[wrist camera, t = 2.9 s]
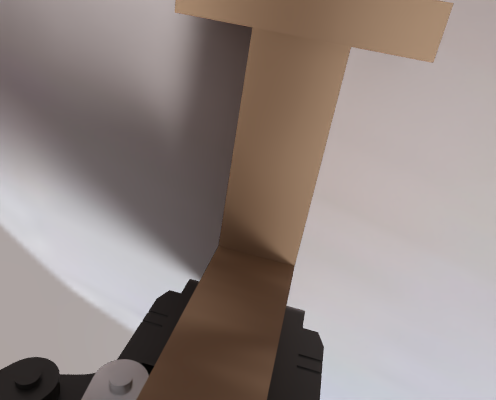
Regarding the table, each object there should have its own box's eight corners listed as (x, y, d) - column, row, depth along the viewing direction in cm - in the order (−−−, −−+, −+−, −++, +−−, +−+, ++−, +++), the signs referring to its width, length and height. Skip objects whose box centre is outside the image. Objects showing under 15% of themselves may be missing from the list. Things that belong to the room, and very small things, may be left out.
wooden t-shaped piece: (429, 2, 12) (609, 7, 4) (325, 325, 17) (303, 622, 9) (216, -36, 12) (-34, -103, 4) (180, 285, 17) (37, 526, 9)
